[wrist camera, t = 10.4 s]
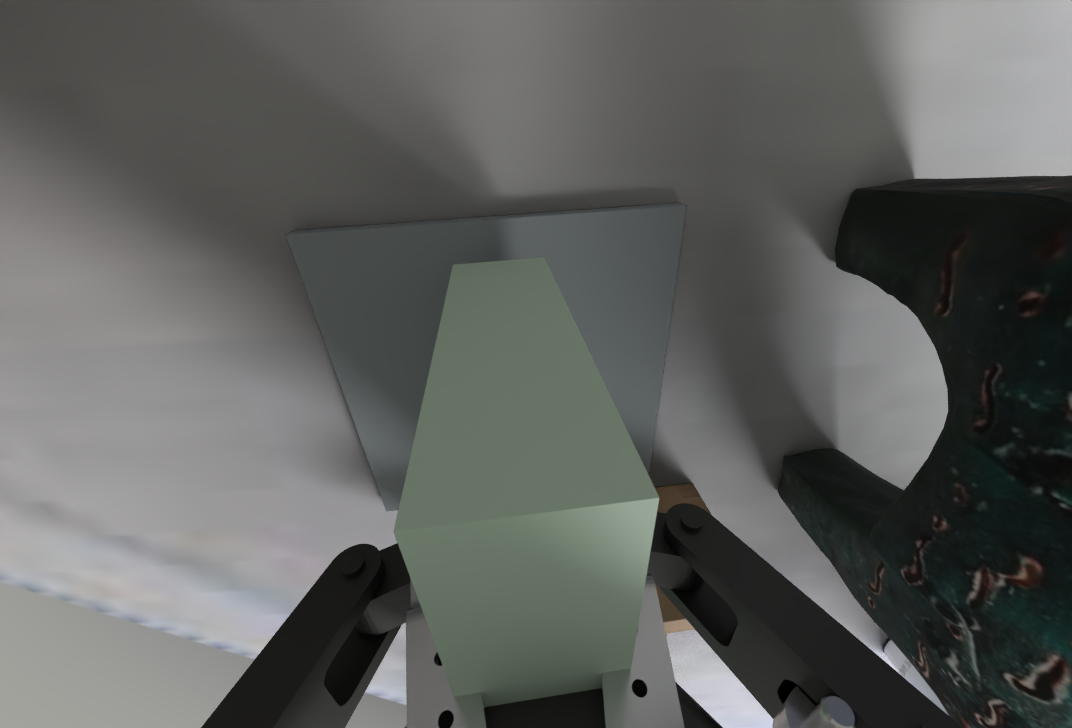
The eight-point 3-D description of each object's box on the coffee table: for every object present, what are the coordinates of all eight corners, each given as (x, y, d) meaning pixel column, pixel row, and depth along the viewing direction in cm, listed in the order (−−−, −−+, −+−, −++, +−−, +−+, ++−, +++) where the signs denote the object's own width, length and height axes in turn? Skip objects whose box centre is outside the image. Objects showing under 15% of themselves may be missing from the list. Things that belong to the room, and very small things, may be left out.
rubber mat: (679, 202, 15) (686, 205, 14) (644, 470, 22) (648, 478, 22) (292, 230, 14) (285, 234, 13) (388, 501, 21) (386, 511, 20)
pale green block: (544, 257, 13) (659, 497, 5) (553, 502, 19) (609, 799, 11) (452, 264, 13) (393, 532, 4) (491, 510, 19) (498, 819, 10)
